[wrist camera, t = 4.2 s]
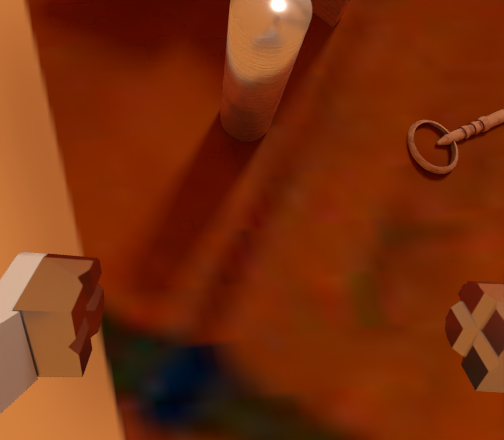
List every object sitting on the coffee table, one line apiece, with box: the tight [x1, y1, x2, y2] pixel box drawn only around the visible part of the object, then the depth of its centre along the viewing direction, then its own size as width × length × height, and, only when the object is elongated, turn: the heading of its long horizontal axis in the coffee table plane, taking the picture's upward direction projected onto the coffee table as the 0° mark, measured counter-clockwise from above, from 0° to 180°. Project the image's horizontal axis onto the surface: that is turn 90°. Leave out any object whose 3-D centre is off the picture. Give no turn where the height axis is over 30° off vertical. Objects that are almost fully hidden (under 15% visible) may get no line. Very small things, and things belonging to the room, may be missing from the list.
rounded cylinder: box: [220, 0, 312, 142], centre depth 21 cm, size 3×3×10 cm
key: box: [407, 109, 504, 174], centre depth 28 cm, size 6×1×15 cm
